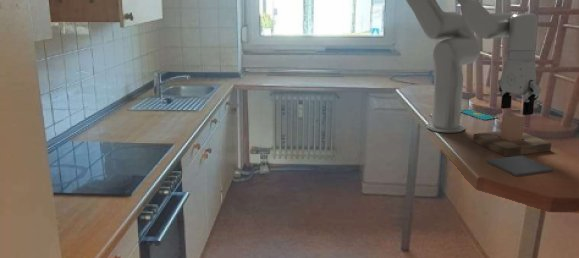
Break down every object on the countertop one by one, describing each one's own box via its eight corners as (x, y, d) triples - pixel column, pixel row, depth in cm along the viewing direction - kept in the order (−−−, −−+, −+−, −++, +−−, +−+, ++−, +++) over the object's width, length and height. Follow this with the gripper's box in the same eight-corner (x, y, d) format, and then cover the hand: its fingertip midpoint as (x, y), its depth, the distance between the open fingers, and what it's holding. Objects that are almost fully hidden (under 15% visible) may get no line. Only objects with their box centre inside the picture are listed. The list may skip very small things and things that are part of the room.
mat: (487, 161, 145) (487, 159, 144) (521, 157, 148) (522, 155, 148) (515, 176, 134) (515, 174, 133) (552, 170, 137) (553, 168, 136)
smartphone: (483, 119, 187) (457, 110, 200) (483, 121, 187) (457, 112, 201) (499, 117, 189) (472, 108, 203) (499, 119, 190) (472, 110, 203)
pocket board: (472, 141, 163) (473, 133, 163) (514, 136, 167) (515, 129, 167) (505, 156, 149) (506, 148, 148) (550, 150, 153) (551, 143, 152)
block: (499, 144, 160) (502, 114, 157) (511, 143, 161) (514, 113, 158) (509, 148, 155) (512, 117, 153) (521, 147, 157) (524, 116, 154)
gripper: (491, 53, 157) (488, 107, 161) (531, 59, 141) (526, 118, 145) (511, 52, 159) (507, 104, 163) (553, 57, 143) (547, 116, 147)
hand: (516, 111), depth 154 cm, fingers open, 9 cm apart
